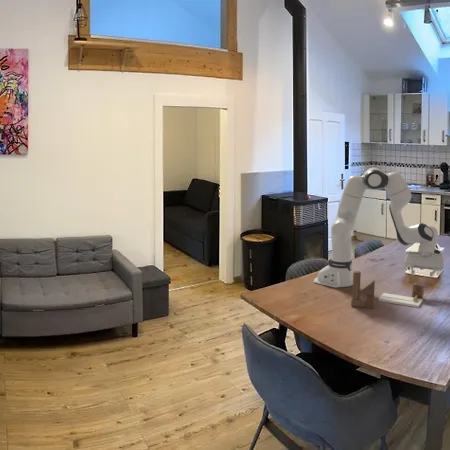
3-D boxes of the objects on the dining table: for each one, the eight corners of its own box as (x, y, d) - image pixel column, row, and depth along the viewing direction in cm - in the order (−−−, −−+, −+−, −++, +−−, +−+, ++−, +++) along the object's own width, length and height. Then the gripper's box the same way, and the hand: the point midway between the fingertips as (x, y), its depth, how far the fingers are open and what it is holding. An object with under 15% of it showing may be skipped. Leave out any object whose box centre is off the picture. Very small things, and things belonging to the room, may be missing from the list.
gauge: (408, 303, 265) (409, 288, 264) (413, 297, 275) (414, 282, 273) (419, 305, 263) (420, 290, 261) (423, 298, 272) (424, 284, 271)
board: (378, 301, 269) (378, 298, 269) (383, 295, 278) (383, 292, 278) (418, 307, 259) (418, 305, 259) (422, 301, 268) (422, 298, 268)
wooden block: (372, 309, 257) (374, 274, 254) (351, 306, 262) (352, 272, 258) (373, 306, 261) (375, 272, 257) (352, 304, 265) (353, 270, 262)
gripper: (406, 248, 286) (401, 269, 279) (445, 252, 276) (441, 274, 269) (407, 254, 290) (402, 275, 284) (446, 258, 280) (442, 280, 274)
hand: (421, 274), depth 277 cm, fingers open, 8 cm apart
